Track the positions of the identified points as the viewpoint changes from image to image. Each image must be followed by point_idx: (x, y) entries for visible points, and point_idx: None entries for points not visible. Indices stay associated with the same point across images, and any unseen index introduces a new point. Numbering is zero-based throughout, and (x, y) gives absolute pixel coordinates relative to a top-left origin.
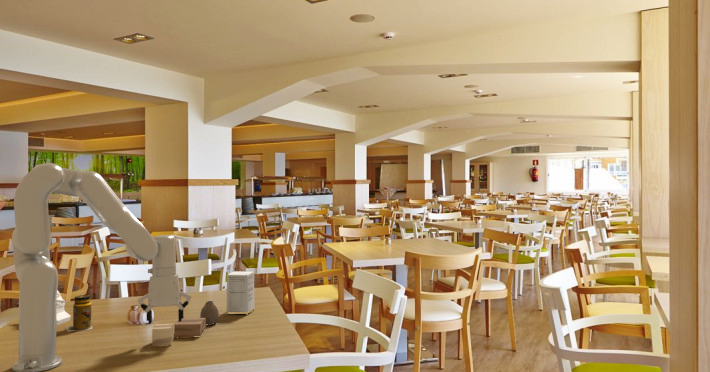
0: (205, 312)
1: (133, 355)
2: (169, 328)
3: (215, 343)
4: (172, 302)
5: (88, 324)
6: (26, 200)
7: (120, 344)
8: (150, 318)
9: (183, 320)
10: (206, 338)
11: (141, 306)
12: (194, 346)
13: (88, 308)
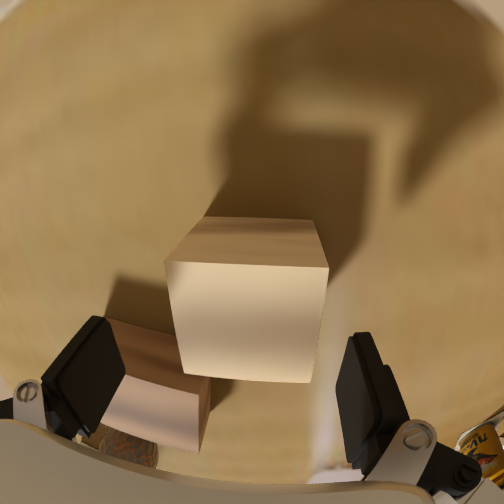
0: (125, 458)
1: (394, 81)
2: (179, 259)
3: (32, 217)
4: (26, 463)
5: (472, 440)
6: None
7: (452, 296)
8: (362, 367)
9: (174, 430)
10: (78, 297)
11: (474, 466)
12: (89, 183)
13: (483, 472)
